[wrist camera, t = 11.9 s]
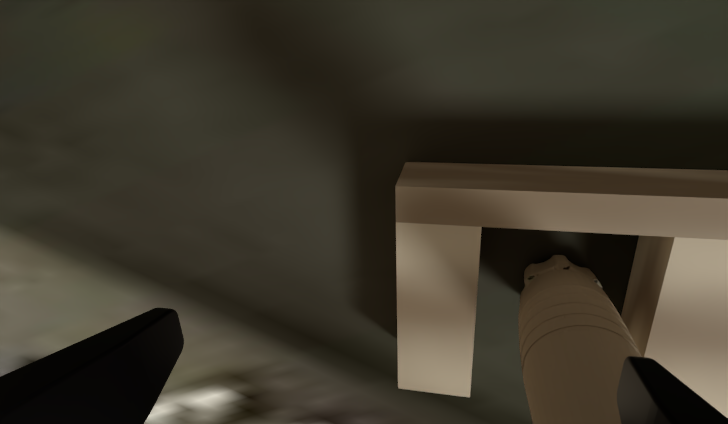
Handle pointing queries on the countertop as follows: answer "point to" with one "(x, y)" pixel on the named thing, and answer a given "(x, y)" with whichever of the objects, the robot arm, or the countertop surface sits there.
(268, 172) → the countertop surface
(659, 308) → the notched rail
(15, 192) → the countertop surface
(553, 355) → the handle
